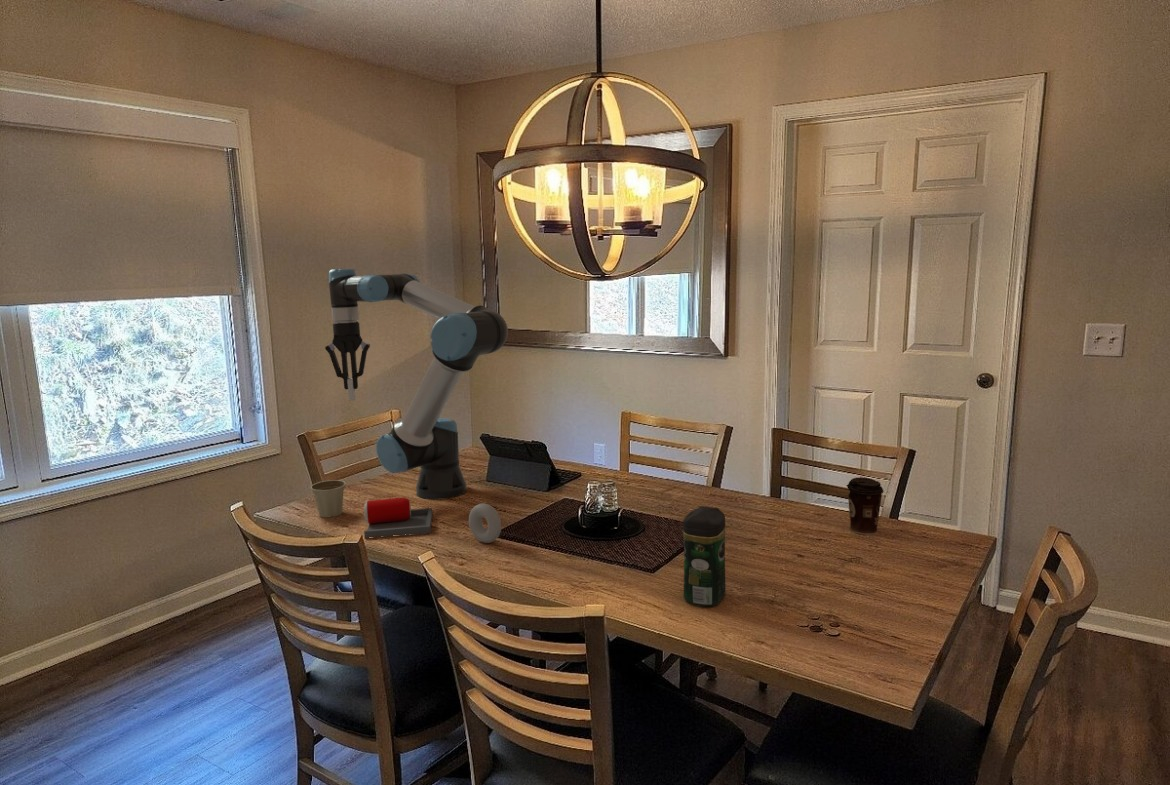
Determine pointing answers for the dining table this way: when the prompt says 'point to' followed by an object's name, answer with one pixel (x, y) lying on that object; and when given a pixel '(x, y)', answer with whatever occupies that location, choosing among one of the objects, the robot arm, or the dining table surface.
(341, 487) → the flower pot
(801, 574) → the dining table surface
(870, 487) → the coffee cup
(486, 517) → the donut
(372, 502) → the beverage can
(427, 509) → the tray
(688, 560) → the coffee jar
